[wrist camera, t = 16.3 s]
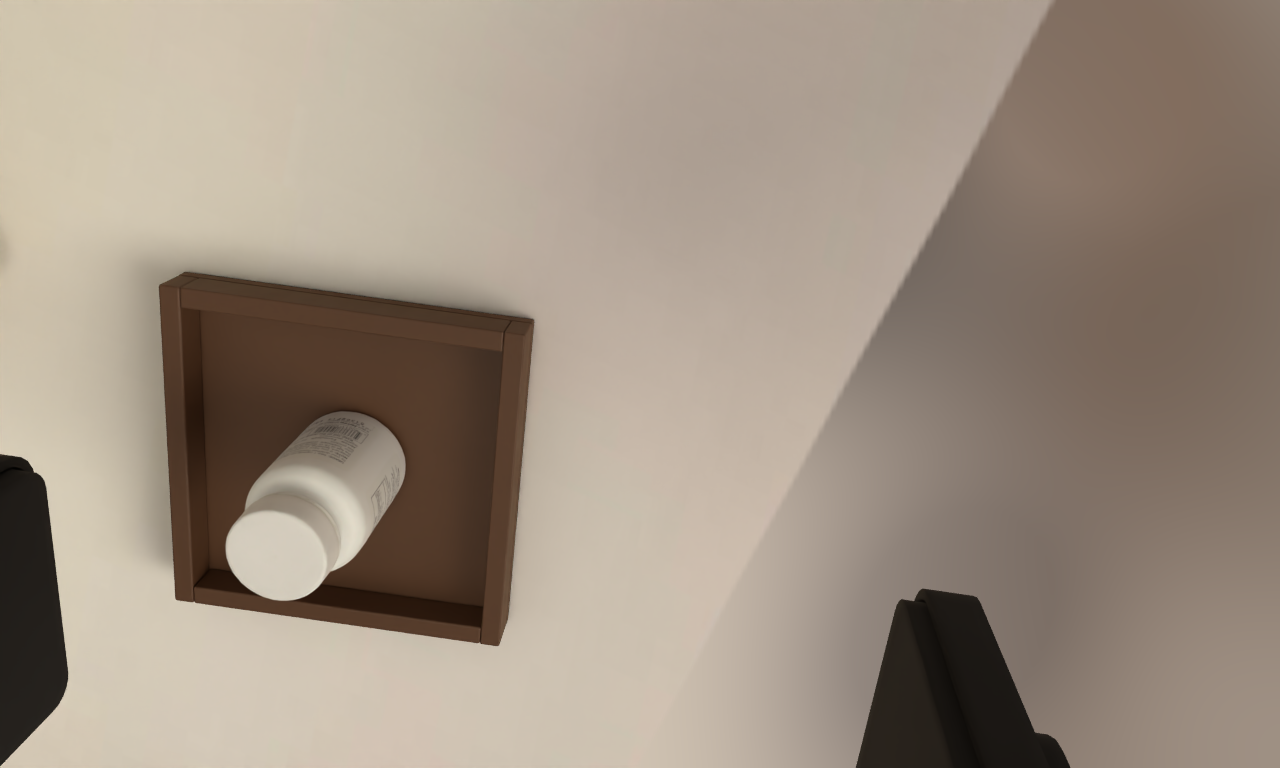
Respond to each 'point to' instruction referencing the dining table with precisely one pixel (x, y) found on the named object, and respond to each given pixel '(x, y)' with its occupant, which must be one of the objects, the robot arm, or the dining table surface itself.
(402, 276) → the dining table surface
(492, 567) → the tray
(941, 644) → the robot arm
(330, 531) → the pill bottle
